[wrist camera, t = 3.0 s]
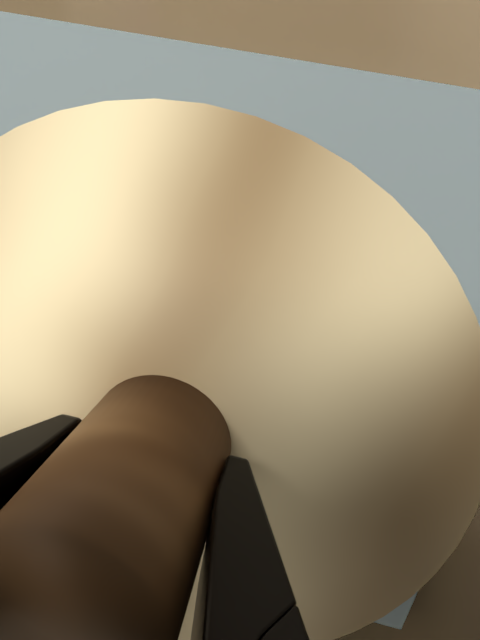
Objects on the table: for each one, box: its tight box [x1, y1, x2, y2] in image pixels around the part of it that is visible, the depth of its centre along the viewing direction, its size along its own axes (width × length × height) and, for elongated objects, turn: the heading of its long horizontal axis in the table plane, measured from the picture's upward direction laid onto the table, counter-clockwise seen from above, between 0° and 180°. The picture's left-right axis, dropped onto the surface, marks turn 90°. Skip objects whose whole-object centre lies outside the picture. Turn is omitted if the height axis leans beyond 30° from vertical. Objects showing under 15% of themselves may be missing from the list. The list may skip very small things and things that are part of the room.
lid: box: [0, 98, 480, 640], centre depth 8 cm, size 13×13×5 cm
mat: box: [0, 11, 480, 630], centre depth 13 cm, size 16×16×1 cm
